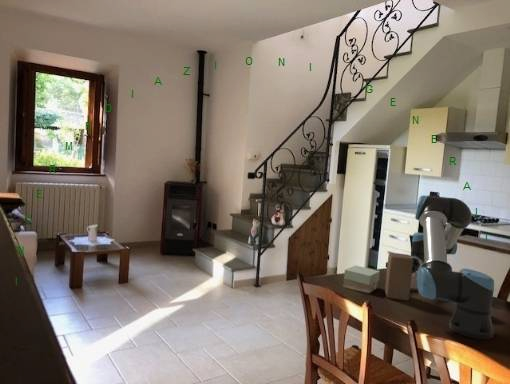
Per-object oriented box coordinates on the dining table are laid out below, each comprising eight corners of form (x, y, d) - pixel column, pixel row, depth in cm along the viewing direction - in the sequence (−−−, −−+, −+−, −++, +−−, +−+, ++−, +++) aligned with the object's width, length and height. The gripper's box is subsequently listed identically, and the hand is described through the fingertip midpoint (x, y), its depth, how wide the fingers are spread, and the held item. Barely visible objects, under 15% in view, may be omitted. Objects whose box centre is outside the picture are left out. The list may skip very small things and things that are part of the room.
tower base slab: (368, 294, 198) (369, 285, 197) (343, 287, 205) (343, 278, 205) (377, 288, 208) (378, 279, 208) (352, 282, 216) (353, 273, 215)
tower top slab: (369, 285, 197) (370, 275, 197) (344, 278, 205) (344, 269, 205) (378, 279, 208) (379, 271, 207) (354, 273, 215) (355, 265, 215)
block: (409, 301, 190) (413, 259, 188) (386, 298, 192) (391, 256, 190) (405, 295, 200) (410, 254, 198) (384, 292, 202) (388, 251, 200)
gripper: (437, 276, 211) (428, 285, 193) (388, 266, 225) (375, 273, 207) (438, 262, 210) (429, 270, 193) (389, 252, 224) (377, 259, 207)
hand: (401, 271), depth 200 cm, fingers open, 13 cm apart
